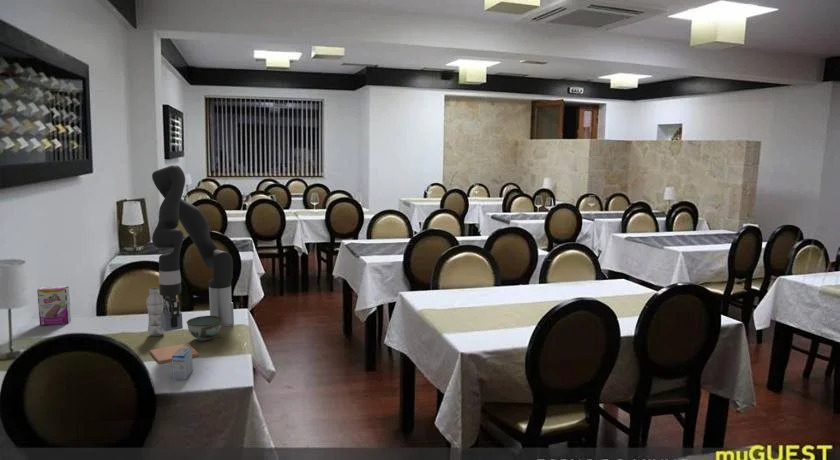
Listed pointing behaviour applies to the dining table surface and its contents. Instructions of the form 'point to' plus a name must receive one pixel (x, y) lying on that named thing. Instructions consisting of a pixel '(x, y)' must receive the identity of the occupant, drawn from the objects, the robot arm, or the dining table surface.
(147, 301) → the plastic bottle
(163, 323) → the slate cube
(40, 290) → the candy bar box
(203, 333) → the bowl
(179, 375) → the medicine box
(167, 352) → the terracotta tile
